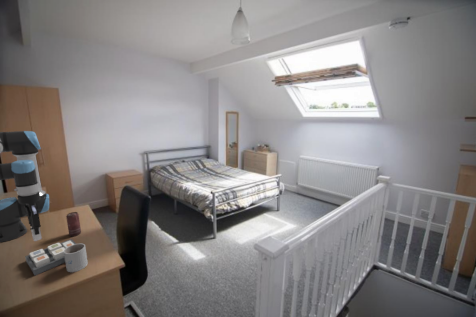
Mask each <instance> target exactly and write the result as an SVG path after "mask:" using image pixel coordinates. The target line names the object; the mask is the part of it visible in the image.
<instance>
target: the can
mask: <svg viewBox="0 0 476 317" xmlns="http://www.w3.org/2000/svg"><path fill="white" fill-rule="evenodd" d="M79 215H80V214H79V213H78V212H77V211H72V212H68V213H67V214H66V216H65V217H66V223H67V229H68V230H67V232H68V236H70V237H76V236H80V234H81V233H82V229H81V222H80V216H79Z"/></svg>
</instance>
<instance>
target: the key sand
mask: <svg viewBox="0 0 476 317" xmlns="http://www.w3.org/2000/svg"><path fill="white" fill-rule="evenodd" d="M64 250H65V248H64V247H62V248H59V249H57V250H54V251H52V256H53V258H54V259H55V260H57V259H59V258H62V257H64Z"/></svg>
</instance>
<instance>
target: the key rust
mask: <svg viewBox="0 0 476 317" xmlns="http://www.w3.org/2000/svg"><path fill="white" fill-rule="evenodd" d="M33 261H34V264H35V266H36V267H37V268H38V267H40V266H43V265H45V264H47V263H50V260H49V257H48V255H47V254H44V255H41V256H39V257H36V258H34V259H33Z"/></svg>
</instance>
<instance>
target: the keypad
mask: <svg viewBox="0 0 476 317" xmlns="http://www.w3.org/2000/svg"><path fill="white" fill-rule="evenodd" d="M59 243H60V244H61V245H62V247H64V248H65V249H66V248H67V247H69V246H71V245H74V244H77V243H76V242H75V241H74V240H73V239H72V238H70V239H68V240H65V241H62V242H59ZM42 249H43V248H42ZM43 250H44V252H45V254H47V255H48V257H49V260H50V263H47V264H45V265H43V266H40V267H38V268H37V267H36V266H35V264H34V262H33V261H32V260H31V258H30V254H28V255H25V257H24V258H25V263H26V264H27V265H28V267H29V269H30V271H31V272H32V274H33V275H34V276H35V277H36V276H38V275H40V274H42V273H44V272H47V271H50V270H51V269H53V268H54V269H55V268H56V267H58V266H60V265H64V264H66V263H65V257H62V258H59V259H57V260H55V259H54V258H53V256H52V255H51V254H50V253H49V251H48V247H45V248H44V249H43Z"/></svg>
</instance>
